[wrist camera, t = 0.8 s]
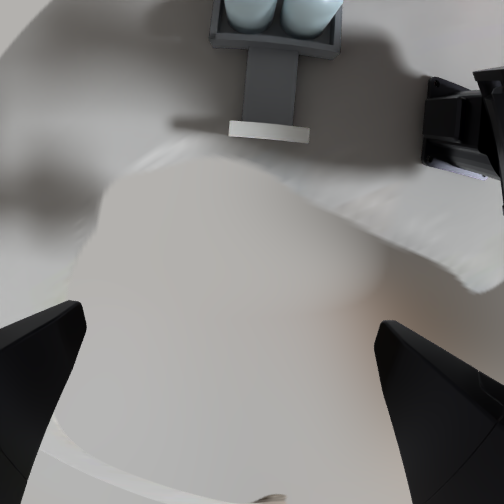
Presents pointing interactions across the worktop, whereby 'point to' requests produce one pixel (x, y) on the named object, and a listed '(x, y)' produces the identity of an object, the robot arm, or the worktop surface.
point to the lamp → (272, 72)
